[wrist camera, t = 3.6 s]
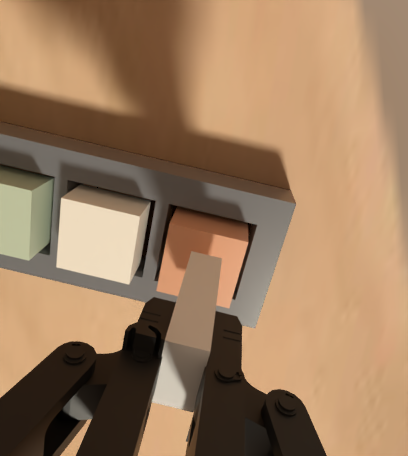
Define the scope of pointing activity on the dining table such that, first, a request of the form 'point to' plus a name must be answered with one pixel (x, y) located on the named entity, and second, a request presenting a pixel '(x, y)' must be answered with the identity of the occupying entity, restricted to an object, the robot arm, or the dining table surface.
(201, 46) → the dining table surface
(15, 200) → the sage key
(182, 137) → the dining table surface
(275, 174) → the dining table surface
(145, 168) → the keyguard
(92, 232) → the cream key
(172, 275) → the peach key
